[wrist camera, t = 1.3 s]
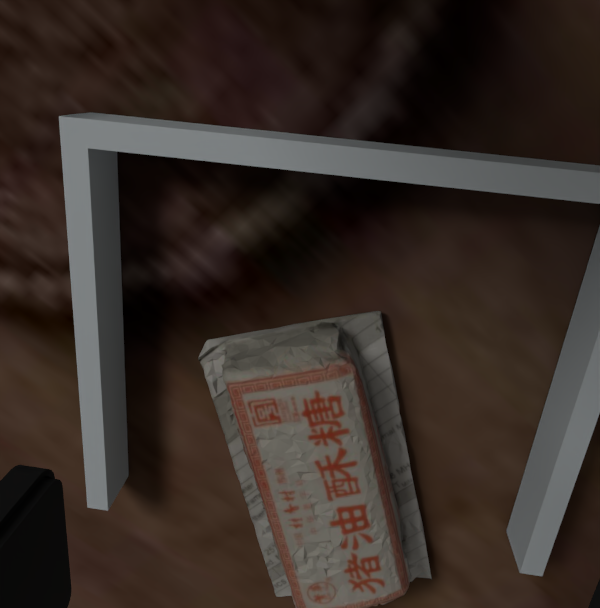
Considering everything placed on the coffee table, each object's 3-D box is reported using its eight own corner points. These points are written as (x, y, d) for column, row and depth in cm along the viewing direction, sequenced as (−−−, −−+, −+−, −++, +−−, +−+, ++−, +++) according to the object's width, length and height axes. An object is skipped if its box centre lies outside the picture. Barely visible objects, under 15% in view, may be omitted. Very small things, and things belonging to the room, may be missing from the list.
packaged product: (173, 378, 26) (383, 343, 24) (200, 335, 30) (380, 303, 29) (267, 647, 32) (441, 634, 30) (279, 578, 36) (430, 564, 35)
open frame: (91, 112, 26) (58, 116, 23) (645, 170, 24) (680, 181, 22) (109, 472, 34) (87, 507, 31) (526, 534, 32) (542, 576, 30)
